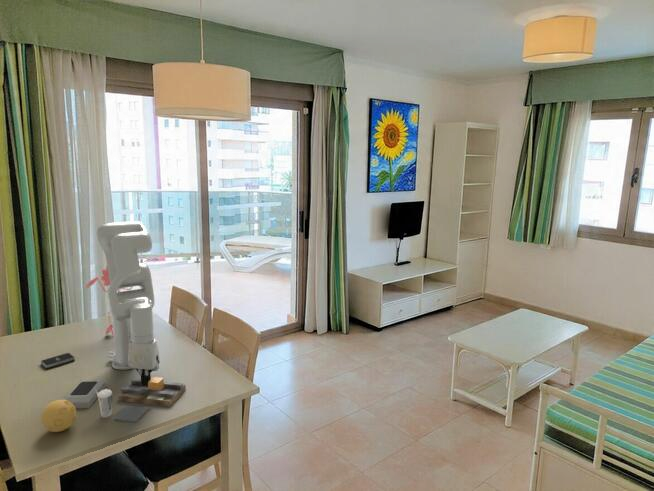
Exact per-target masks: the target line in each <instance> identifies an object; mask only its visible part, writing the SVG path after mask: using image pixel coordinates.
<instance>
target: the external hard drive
mask: <svg viewBox="0 0 654 491" xmlns="http://www.w3.org/2000/svg"><path fill="white" fill-rule="evenodd" d="M75 361H76V360H75V356H74V355H73V354H72V353H70V352H65V353H62V354H59V355H55V356H53V357H49V358H45V359H42V360H40V365H41V366H43V368H45V369H46V370H49V369H53V368H56V367H60V366H63V365H66V364H69V363H73V362H75Z"/></svg>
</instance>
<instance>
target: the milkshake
mask: <svg viewBox="0 0 654 491" xmlns="http://www.w3.org/2000/svg"><path fill="white" fill-rule="evenodd" d="M95 391H96V389H95ZM96 393H97V391H96ZM112 400H113V391H112V390H111V389H107V388H104V389H103V390H101V391H100V392H99V393H97V401H98V405H99V410H100V412H99V413H100V417H101V418H102V419H103V418H104V419H106V418H109V417H112V414H113V411H112V410H113V408H112V407H113V406H112V404H113V403H112V402H113V401H112Z"/></svg>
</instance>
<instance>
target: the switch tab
mask: <svg viewBox="0 0 654 491" xmlns="http://www.w3.org/2000/svg"><path fill="white" fill-rule="evenodd" d="M164 380H165V379H164V377H159V376H152V377H151V380H149V381H148V390H157V391H161V390H162V389H163V388H164V382H165V381H164Z"/></svg>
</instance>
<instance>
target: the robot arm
mask: <svg viewBox="0 0 654 491" xmlns="http://www.w3.org/2000/svg"><path fill="white" fill-rule="evenodd" d="M96 236H97V241H98V244H99V245H100V248H101V250H102V251H103V253H104V255H105V259H106V267H108V274H109V281H110V284H111V285H109V288H108V290H107V291H108V292H107V300H108V301H107V302H108V307H109V312H110V316H111V321H112V324H113V328H112V330H113V334H114V338H113V343H114V351H111V350H110V351H108V355H107V358H108V359H112V362H111V366H112V368H113V369H116V370H119V371H121V370H122V371H126V370H133V369H134V370H136V371H137V372H138V375H139V376H140V379H141V382H142V385H145V386H146V385H147V384H148V381H149V380H151V379H152V377H151V373H152V372H156V371H158V370H160V366H159V365H160V352H159V351H160V350H159V346H158V343H157V340H156V339H155V331H154V316H153V314H154V313H153V308H154V307H155V294H154V287H153V281H152V280H153V279H152V275H151V274H152V273H151V270H150V267H149V266H148V264H146V263H145V262H140V260H139V254H147V253H149V252H151V250H152V248H153V241H152V238H151V235H150V233H149V231H148V229H147V228H146V227H145V225H144V224H143V223H142V222H141V221H137V220H135V221H121V222H120V221H118V222H108V223H103V224H101V225H99V226H98V227H97V229H96ZM131 287H132V288H133V287H139V288H136V289H130V290H122V291H119V292H118V288H126V289H128V288H131Z"/></svg>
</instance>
